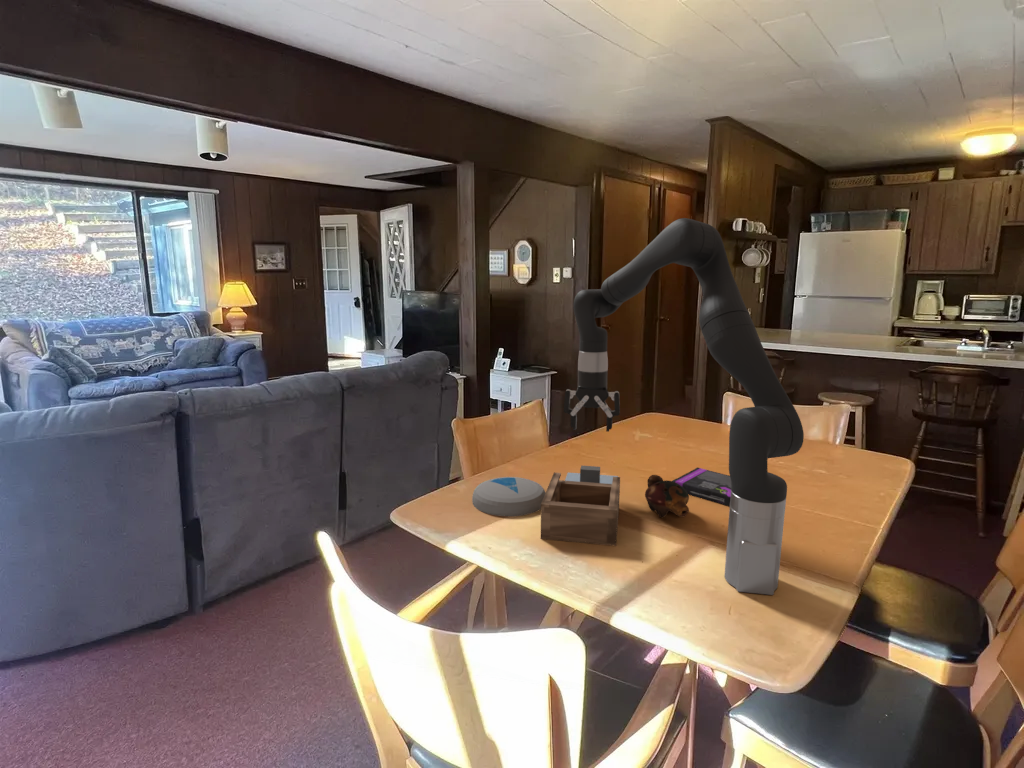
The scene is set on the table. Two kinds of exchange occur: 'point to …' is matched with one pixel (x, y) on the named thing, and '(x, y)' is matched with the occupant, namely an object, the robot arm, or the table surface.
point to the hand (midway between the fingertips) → (591, 429)
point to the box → (707, 485)
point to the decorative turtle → (666, 497)
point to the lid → (589, 475)
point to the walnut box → (580, 511)
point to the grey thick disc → (508, 496)
